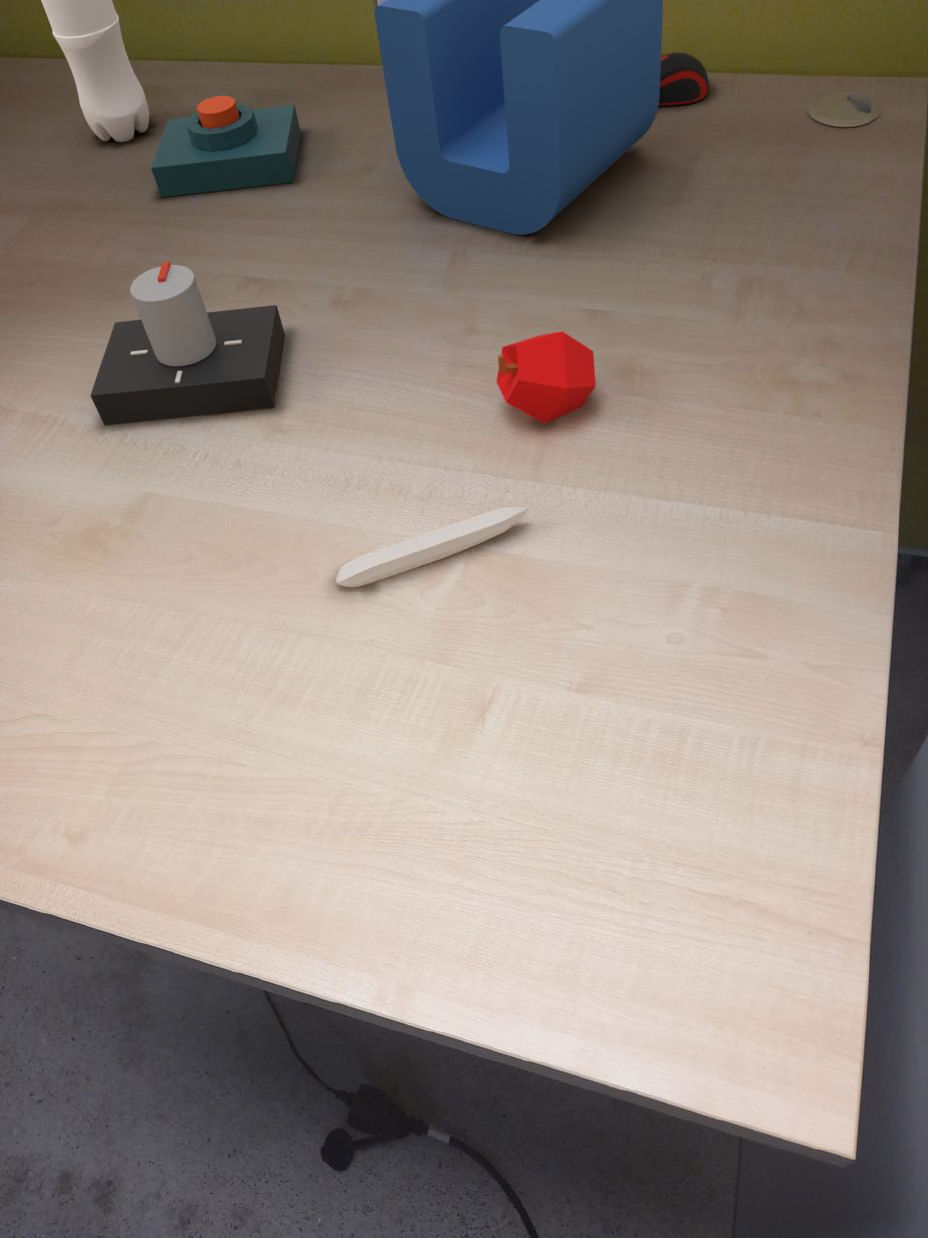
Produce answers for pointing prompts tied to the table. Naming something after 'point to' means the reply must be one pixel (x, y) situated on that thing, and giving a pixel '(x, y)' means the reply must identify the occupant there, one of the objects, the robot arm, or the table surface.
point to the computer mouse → (682, 80)
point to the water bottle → (99, 66)
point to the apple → (546, 375)
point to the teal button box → (228, 152)
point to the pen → (427, 547)
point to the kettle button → (218, 112)
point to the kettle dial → (173, 314)
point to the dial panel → (192, 371)
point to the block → (516, 99)
